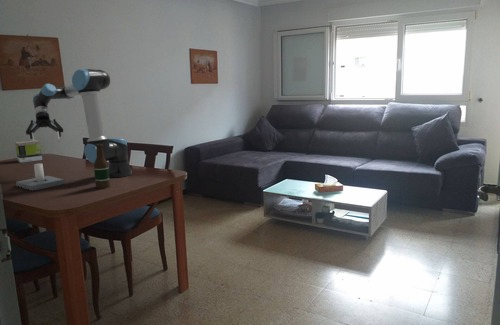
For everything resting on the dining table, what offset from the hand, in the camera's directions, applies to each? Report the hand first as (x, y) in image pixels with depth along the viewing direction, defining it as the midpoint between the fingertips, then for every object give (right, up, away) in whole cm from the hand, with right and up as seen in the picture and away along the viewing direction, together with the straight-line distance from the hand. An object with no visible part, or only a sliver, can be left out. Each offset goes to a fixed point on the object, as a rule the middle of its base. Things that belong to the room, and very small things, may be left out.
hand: (46, 141), depth 232 cm
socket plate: (+3, -25, -13) cm, 29 cm away
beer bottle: (+41, -26, -19) cm, 52 cm away
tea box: (-44, -12, +60) cm, 76 cm away
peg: (+3, -25, -13) cm, 29 cm away
